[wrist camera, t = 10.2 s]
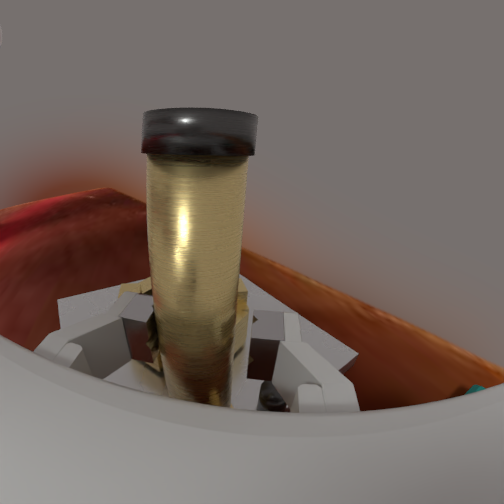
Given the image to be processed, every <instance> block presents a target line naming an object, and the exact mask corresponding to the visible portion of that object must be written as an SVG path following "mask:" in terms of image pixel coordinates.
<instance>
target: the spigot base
mask: <svg viewBox="0 0 504 504" xmlns="http://www.w3.org/2000/svg"><path fill="white" fill-rule="evenodd" d="M147 233H148V228H147ZM148 250H149V247H148ZM149 264H150V262H149ZM150 276H151V274H150ZM239 278H241V279H242V281H243V283H244V285H245V287H246V289H247V290H248V296H247V305H248V307H249V316H248V327H247V337H246V342H245V343H244V344H243V345H242V346H241V347H240V348H239V349H238V351H237V352H236V353H235V354H234V359H233V376H232V392H231V408H237V409H247V410H257V411H271V412H290V408H289V407H288V405H287V404H286V402H285V401H284V400H283V398H282V397H281V395H280V394H279V392H278V391H277V389H276V388H275V386H274V385H273V384H272V381H264V380H255V379H247V368H248V358H249V348H250V339H251V329H252V321H253V312H254V310H264V311H277V312H295V311H293V310H292V309H290V308H289V307H287V306H286V305H284V304H283V303H281V302H280V301H278V300H277V299H275V298H274V297H272V296H271V295H269V294H268V293H267V292H265V291H264V290H262V289H261V288H259V287H258V286H256V285H255V284H253V283H252V282H251V281H249V280H248V279H246V278H245V277H243V276H242V275H240V274H239ZM143 280H145V279H143ZM143 280H139V281H135V282H131V283H139V282H141V281H143ZM126 284H129V283H126ZM120 287H121V285H118V286H114V287H109V288H105V289H101V290H97V291H92V292H88V293H84V294H80V295H75V296H71V297H67V298H62V299H58V310H59V318H60V326H61V329H62V328H65V327H68V326H70V325H73V324H75V323H78V322H81V321H83V320H86V319H88V318H91V317H93V316H96V315H99V314H101V313H103V314H106V313H107V311H108V310H109V309H110V308H111V307H112V305H113V304H114V303H115V302H116V301H117V300H118V295H119V291H120ZM151 287H152V285H151ZM152 296H153V295H152ZM299 321H300V328H301V335H302V342H305V343H308V344H309V345H310V346H311V347H312V348H313V349H314V350H315V351H317V352H318V353H319V354H320V355H321V356H322V357H323V358H324V359H325V360H327V361H328V362H329V363H330V364H331V365H332V366H333V367H335V368H336V369H337V370H338V371H339V372H340V373H341V374H344V373H345V372H346V371H347V370H348V369H350V368H351V367H352V366H353V365H354V363H355V361H356V359H357V356H358V354H359V353H357V352H355V351H354V350H352V349H351V348H349V347H348V346H346V345H345V344H343V343H342V342H340V341H338V340H337V339H335V338H334V337H332V336H331V335H329V334H328V333H326V332H325V331H323V330H322V329H320V328H319V327H317V326H316V325H314V324H313V323H311V322H310V321H308V320H307V319H305V318H304V317H302V316H301V315H299ZM103 380H106V381H109V382H112V383H116V384H119V385H122V386H126V387H129V388H133V389H137V390H140V391H144V392H148V393H152V394H157V395H161V396H165V397H169V395H168V390H167V385H166V380H165V375H164V370H162V371H161V372H159V371H157V370H156V369H154V368H153V367H151V366H150V365H148V364H147V363H145V362H143V361H139V360H134V359H131V361H130V362H128V363H127V364H125V365H124V366H122V367H121V368H119V369H118V370H116V371H115V372H113V373H112V374H110V375H109V376H107V377H106V378H104V379H103Z"/></svg>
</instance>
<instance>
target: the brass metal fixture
mask: <svg viewBox="0 0 504 504" xmlns="http://www.w3.org/2000/svg"><path fill="white" fill-rule="evenodd" d="M257 123H258V116H257V115H254V114H251V113H246V112H241V111H234V110H226V109H214V108H167V109H157V110H151V111H147V112H144V113H143V125H142V144H141V145H142V146H141V153H146V154H147V228H148V247H149V262H150V274H151V277H149V278H147V279H145V280H143V281H141V282H139V283H129V284H121V287H120V291H119V295H118V298H119V297H120V296H121V295H122V294H123V293H124V292H126V291H129V292H135V293H141V294H146V295H151V296H152V295H153V304H154V312H155V320H156V327H157V334H158V341H159V353H158V355H157V357H156V359H155V362H154V363H148V362H145V363H147V364H148V365H150V366H151V367H153V368H154V369H156V370H157V371H159V372H161V371H162V370H164V375H165V380H166V385H167V390H168V395H169V397H170V398H175V399H180V400H185V401H190V402H196V403H201V404H208V405H214V406H221V407H229V408H231V392H232V376H233V359H234V354H235V353H236V352H237V351H238V349H239V348H240V347H241V346H242V345H243V344H244V343H245V342H246V337H247V327H248V316H249V307H248V305H247V296H248V290H247V289H246V287H245V285H244V283H243V281H242V279H241V278H239V271H240V258H241V243H242V231H243V218H244V206H245V205H244V204H245V193H246V181H247V169H248V156H253V155H254V154H255V146H256V134H257ZM151 285H152V287H151Z"/></svg>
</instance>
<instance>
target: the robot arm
mask: <svg viewBox="0 0 504 504" xmlns="http://www.w3.org/2000/svg"><path fill="white" fill-rule="evenodd" d="M1 43H2V29H1V25H0V46H1ZM158 353H159V341H158V334H157V327H156V320H155V312H154V304H153V296H151V295H146V294H141V293H135V292H129V291H126V292H124V293H123V294H122V295H121V296H120V297H119V298H118V300H117V301H116V302H115V303H114V304H113V305H112V307H111V308H110V309H109V310H108V311H107V313H106V314H103V313H101V314H99V315H96V316H93V317H91V318H88V319H86V320H83V321H81V322H78V323H75V324H73V325H70V326H68V327H65V328H62V329H60V330H57V331H55V332H52V333H50V334H49V335H48V336H47V337H46V338H45V339H44V340H43V341H42V342H41V343H40V345H39V346H38V347H37V348H36V349H35V350H34V351H33V352H32V351H30V350H28V349H26V348H24V347H22V346H20V345H18V344H16V343H14V342H12V341H10V340H9V339H7V338H5V337H3V336H1V335H0V504H504V383H502V384H500V385H497V386H494V387H491V388H487V389H484V390H481V391H477V392H474V393H470V394H466V395H462V396H458V397H454V398H450V399H445V400H440V401H435V402H430V403H425V404H419V405H413V406H406V407H399V408H391V409H382V410H371V411H360V409H359V405H358V401H357V397H356V393H355V389H354V385H353V383H352V382H350V381H349V380H348V379H347V378H346V377H345V376H344V375H342V374H341V373H340V372H339V371H338V370H337V369H336V368H335V367H333V366H332V365H331V364H330V363H329V362H328V361H327V360H325V359H324V358H323V357H322V356H321V355H320V354H319V353H318V352H317V351H315V350H314V349H313V348H312V347H311V346H310V345H309V344H308V343H305V342H302V335H301V328H300V321H299V314H298V313H297V312H277V311H264V310H254V312H253V321H252V329H251V339H250V348H249V358H248V368H247V379H255V380H264V381H272V384H273V385H274V386H275V388H276V389H277V391H278V392H279V394H280V395H281V397H282V398H283V400H284V401H285V402H286V404H287V405H288V407H289V408H290V412H271V411H257V410H247V409H237V408H229V407H221V406H214V405H208V404H201V403H196V402H190V401H185V400H180V399H175V398H170V397H165V396H161V395H157V394H152V393H148V392H144V391H140V390H137V389H133V388H129V387H126V386H122V385H119V384H116V383H112V382H109V381H106V380H103V379H104V378H106V377H107V376H109V375H110V374H112V373H113V372H115V371H116V370H118V369H119V368H121V367H122V366H124V365H125V364H127V363H128V362H130V361H131V359H134V360H139V361H143V362H148V363H154V362H155V359H156V357H157V355H158Z"/></svg>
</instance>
